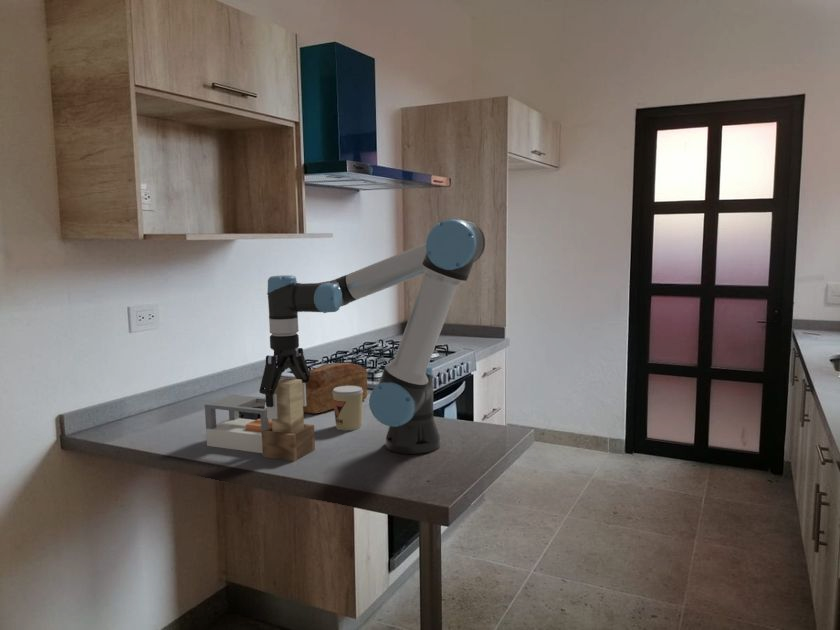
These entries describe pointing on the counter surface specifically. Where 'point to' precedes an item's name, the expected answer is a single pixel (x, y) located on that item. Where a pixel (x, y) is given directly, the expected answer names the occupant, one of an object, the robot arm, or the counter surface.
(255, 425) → the orange cube
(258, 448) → the grey frame
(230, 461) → the counter surface
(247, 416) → the electrical switch
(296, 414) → the tan wooden block
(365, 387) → the bread
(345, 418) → the coffee cup
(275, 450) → the holder
